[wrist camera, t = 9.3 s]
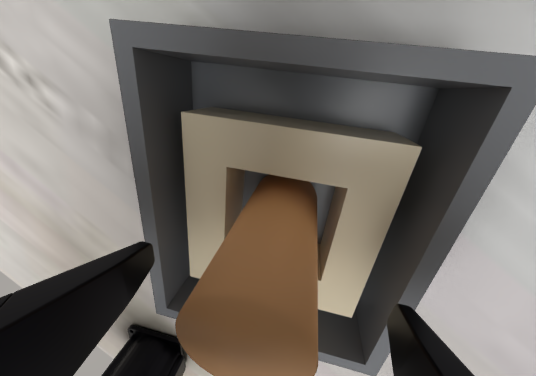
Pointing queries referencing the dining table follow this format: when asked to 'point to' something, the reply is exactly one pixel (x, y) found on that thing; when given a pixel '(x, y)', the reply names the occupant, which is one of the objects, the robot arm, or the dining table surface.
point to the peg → (260, 289)
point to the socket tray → (336, 91)
